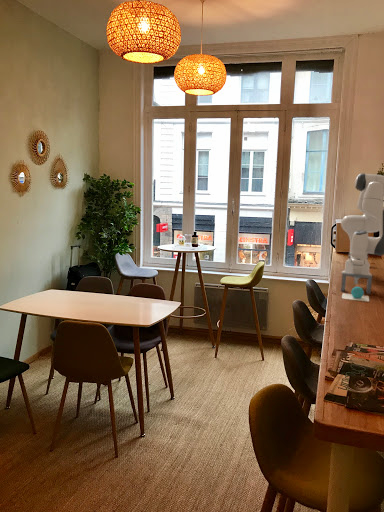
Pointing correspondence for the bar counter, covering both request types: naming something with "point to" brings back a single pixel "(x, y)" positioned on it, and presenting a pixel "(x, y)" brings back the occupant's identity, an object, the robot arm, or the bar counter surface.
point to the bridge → (357, 276)
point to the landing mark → (350, 297)
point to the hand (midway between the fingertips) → (355, 283)
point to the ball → (357, 292)
